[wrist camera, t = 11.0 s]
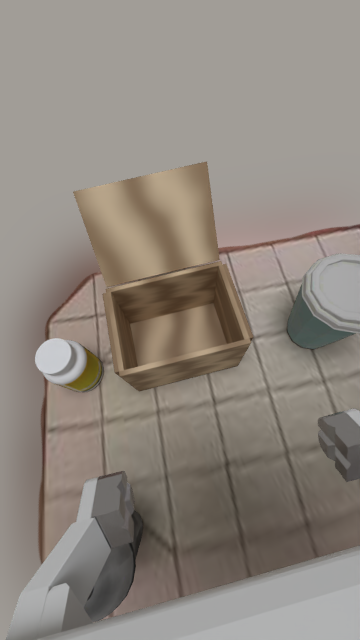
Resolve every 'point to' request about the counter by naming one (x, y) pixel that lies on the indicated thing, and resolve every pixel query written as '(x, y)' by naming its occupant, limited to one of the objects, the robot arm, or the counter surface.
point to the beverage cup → (115, 576)
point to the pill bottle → (69, 365)
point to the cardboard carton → (176, 326)
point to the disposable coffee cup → (327, 302)
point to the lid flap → (151, 223)
